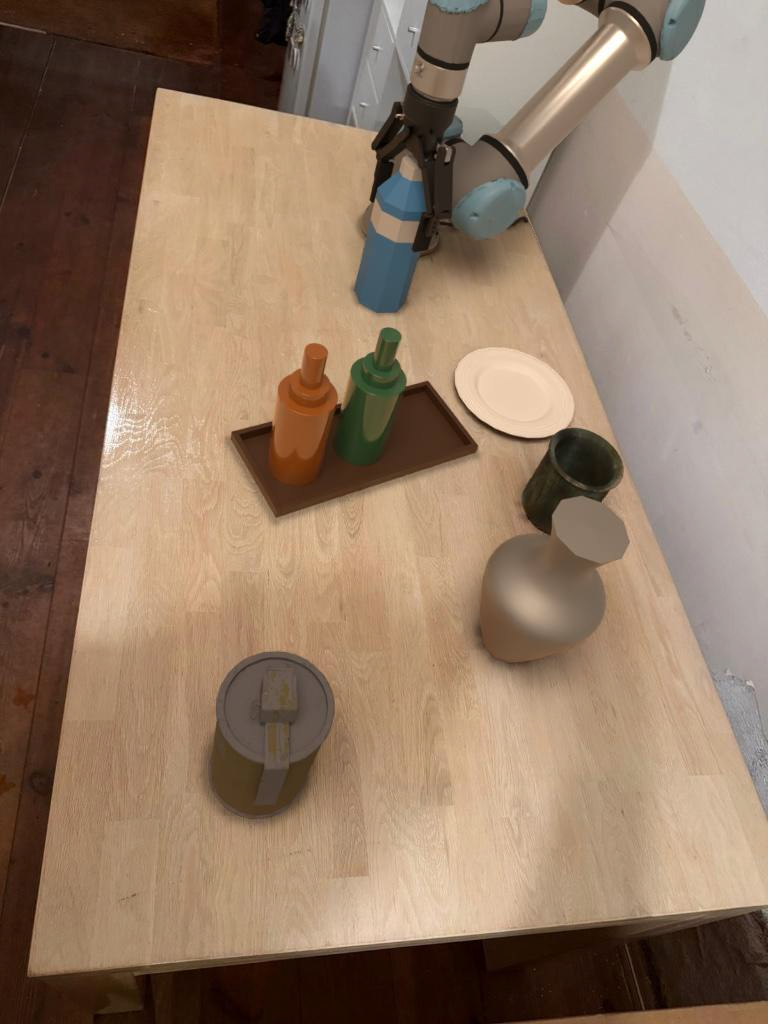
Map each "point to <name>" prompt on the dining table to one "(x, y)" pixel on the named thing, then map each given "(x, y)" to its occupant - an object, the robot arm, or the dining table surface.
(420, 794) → the dining table surface
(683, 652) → the dining table surface
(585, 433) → the mug
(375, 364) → the green bottle
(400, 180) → the water bottle
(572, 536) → the vase
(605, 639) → the dining table surface
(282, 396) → the amber bottle
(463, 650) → the dining table surface
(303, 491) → the tray
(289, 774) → the canister
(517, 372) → the plate
